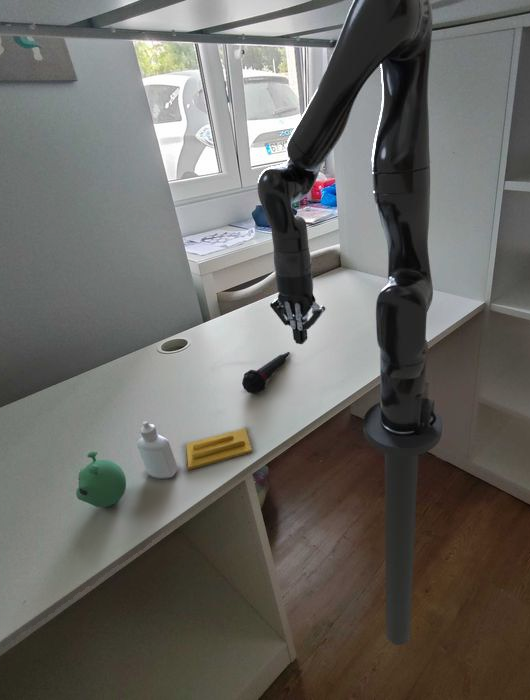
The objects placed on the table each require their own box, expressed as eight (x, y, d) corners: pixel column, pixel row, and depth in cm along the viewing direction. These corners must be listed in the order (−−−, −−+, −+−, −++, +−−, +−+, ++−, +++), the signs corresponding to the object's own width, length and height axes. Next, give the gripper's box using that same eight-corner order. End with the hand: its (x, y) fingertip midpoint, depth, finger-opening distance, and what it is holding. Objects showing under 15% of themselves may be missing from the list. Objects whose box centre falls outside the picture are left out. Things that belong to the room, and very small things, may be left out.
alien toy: (83, 496, 79) (62, 455, 74) (129, 479, 82) (112, 438, 77) (85, 525, 74) (63, 482, 68) (134, 505, 77) (116, 463, 71)
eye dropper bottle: (159, 486, 80) (140, 435, 74) (145, 471, 83) (126, 422, 77) (181, 472, 83) (164, 422, 77) (166, 458, 86) (149, 409, 80)
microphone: (283, 364, 119) (242, 399, 102) (276, 344, 118) (233, 376, 101) (301, 361, 117) (261, 396, 100) (293, 341, 115) (252, 374, 98)
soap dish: (246, 430, 92) (244, 424, 91) (252, 451, 86) (250, 446, 86) (186, 446, 89) (185, 440, 88) (188, 469, 83) (187, 464, 82)
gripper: (256, 271, 90) (267, 345, 99) (313, 279, 85) (319, 356, 94) (275, 259, 96) (284, 330, 105) (330, 266, 91) (334, 339, 100)
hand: (301, 342), depth 100 cm, fingers closed
